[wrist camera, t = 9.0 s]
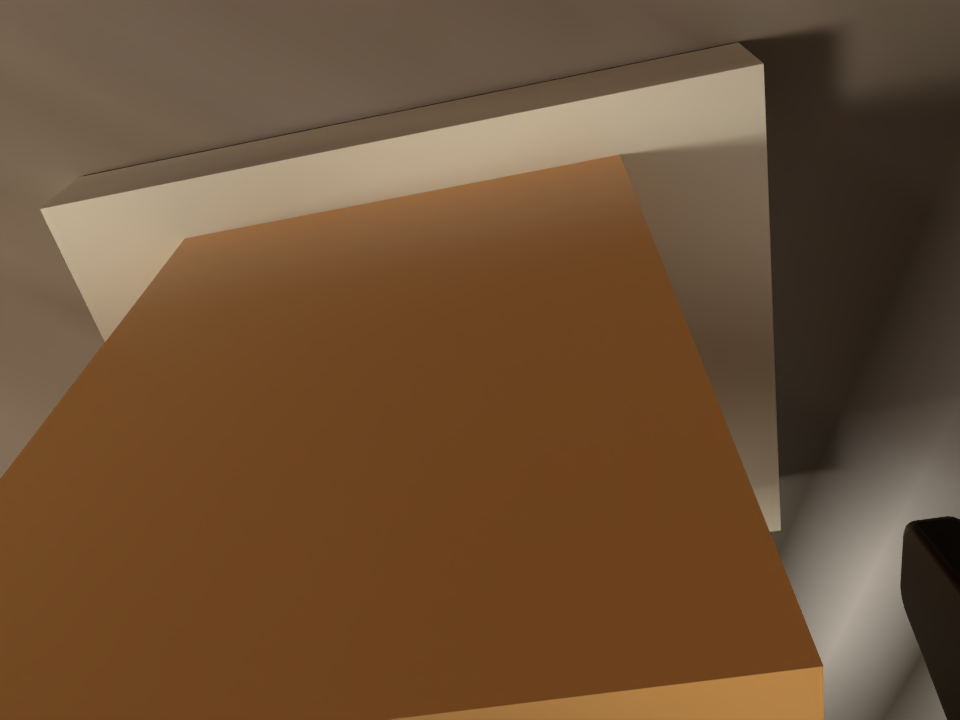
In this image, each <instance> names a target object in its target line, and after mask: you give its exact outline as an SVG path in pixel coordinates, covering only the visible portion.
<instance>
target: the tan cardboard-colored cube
mask: <svg viewBox="0 0 960 720" xmlns="http://www.w3.org/2000/svg"><path fill="white" fill-rule="evenodd" d="M0 720H824V706H823V664H822V662H821V659H820V657H819V654H818V652H817V649H816V647H815V644H814V642H813V639H812V637H811V634H810V632H809V629H808V627H807V624H806V622H805V619H804V617H803V614H802V612H801V609H800V607H799V604H798V602H797V599H796V596H795V594H794V591H793V589H792V586H791V584H790V581H789V579H788V576H787V574H786V571H785V569H784V566H783V564H782V561H781V559H780V556H779V554H778V551H777V549H776V546H775V544H774V541H773V539H772V536H771V534H770V531H769V529H768V526H767V524H766V521H765V519H764V516H763V514H762V511H761V509H760V506H759V504H758V501H757V499H756V496H755V493H754V491H753V488H752V486H751V483H750V481H749V478H748V476H747V473H746V471H745V468H744V466H743V463H742V461H741V458H740V456H739V453H738V451H737V448H736V446H735V443H734V441H733V438H732V436H731V433H730V431H729V428H728V426H727V423H726V421H725V418H724V416H723V413H722V411H721V408H720V406H719V403H718V401H717V398H716V395H715V393H714V390H713V388H712V385H711V383H710V380H709V378H708V375H707V373H706V370H705V368H704V365H703V363H702V360H701V358H700V355H699V353H698V350H697V348H696V345H695V343H694V340H693V338H692V335H691V333H690V330H689V328H688V325H687V323H686V320H685V318H684V315H683V313H682V310H681V308H680V305H679V303H678V300H677V298H676V295H675V292H674V290H673V287H672V285H671V282H670V280H669V277H668V275H667V272H666V270H665V267H664V265H663V262H662V260H661V257H660V255H659V252H658V250H657V247H656V245H655V242H654V240H653V237H652V235H651V232H650V230H649V227H648V225H647V222H646V220H645V217H644V215H643V212H642V210H641V207H640V205H639V202H638V200H637V197H636V195H635V192H634V189H633V187H632V184H631V182H630V179H629V177H628V174H627V172H626V169H625V167H624V164H623V162H622V159H621V157H620V154H619V155H614V156H609V157H604V158H599V159H594V160H588V161H583V162H578V163H573V164H568V165H563V166H557V167H552V168H547V169H542V170H537V171H531V172H526V173H521V174H516V175H511V176H506V177H500V178H495V179H490V180H485V181H480V182H475V183H469V184H464V185H459V186H454V187H449V188H443V189H438V190H433V191H428V192H423V193H418V194H412V195H407V196H402V197H397V198H392V199H387V200H381V201H376V202H371V203H366V204H361V205H355V206H350V207H345V208H340V209H335V210H330V211H324V212H319V213H314V214H309V215H304V216H299V217H293V218H288V219H283V220H278V221H273V222H267V223H262V224H257V225H252V226H247V227H242V228H236V229H231V230H226V231H221V232H216V233H211V234H205V235H200V236H195V237H190V238H185V239H184V240H183V241H182V243H181V244H180V245H179V247H178V248H177V249H176V251H175V252H174V253H173V254H172V256H171V257H170V258H169V260H168V261H167V262H166V264H165V265H164V266H163V268H162V269H161V270H160V271H159V273H158V274H157V275H156V277H155V278H154V279H153V281H152V282H151V283H150V284H149V286H148V287H147V288H146V290H145V291H144V292H143V294H142V295H141V296H140V298H139V299H138V300H137V301H136V303H135V304H134V305H133V307H132V308H131V309H130V311H129V312H128V313H127V314H126V316H125V317H124V318H123V320H122V321H121V322H120V324H119V325H118V326H117V328H116V329H115V330H114V331H113V333H112V334H111V335H110V337H109V338H108V339H107V341H106V342H105V343H104V345H103V346H102V347H101V348H100V350H99V351H98V352H97V354H96V355H95V356H94V358H93V359H92V360H91V361H90V363H89V364H88V365H87V367H86V368H85V369H84V371H83V372H82V373H81V375H80V376H79V377H78V378H77V380H76V381H75V382H74V384H73V385H72V386H71V388H70V389H69V390H68V392H67V393H66V394H65V395H64V397H63V398H62V399H61V401H60V402H59V403H58V405H57V406H56V407H55V408H54V410H53V411H52V412H51V414H50V415H49V416H48V418H47V419H46V420H45V422H44V423H43V424H42V425H41V427H40V428H39V429H38V431H37V432H36V433H35V435H34V436H33V437H32V439H31V440H30V441H29V442H28V444H27V445H26V446H25V448H24V449H23V450H22V452H21V453H20V454H19V455H18V457H17V458H16V459H15V461H14V462H13V463H12V465H11V466H10V467H9V469H8V470H7V471H6V472H5V474H4V475H3V476H2V478H1V479H0Z"/></svg>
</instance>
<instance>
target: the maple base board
mask: <svg viewBox="0 0 960 720" xmlns="http://www.w3.org/2000/svg"><path fill="white" fill-rule="evenodd" d="M619 154H620V157H621V159H622V162H623V164H624V167H625V169H626V172H627V174H628V177H629V179H630V182H631V184H632V187H633V189H634V192H635V195H636V197H637V200H638V202H639V205H640V207H641V210H642V212H643V215H644V217H645V220H646V222H647V225H648V227H649V230H650V232H651V235H652V237H653V240H654V242H655V245H656V247H657V250H658V252H659V255H660V257H661V260H662V262H663V265H664V267H665V270H666V272H667V275H668V277H669V280H670V282H671V285H672V287H673V290H674V292H675V295H676V298H677V300H678V303H679V305H680V308H681V310H682V313H683V315H684V318H685V320H686V323H687V325H688V328H689V330H690V333H691V335H692V338H693V340H694V343H695V345H696V348H697V350H698V353H699V355H700V358H701V360H702V363H703V365H704V368H705V370H706V373H707V375H708V378H709V380H710V383H711V385H712V388H713V390H714V393H715V395H716V398H717V401H718V403H719V406H720V408H721V411H722V413H723V416H724V418H725V421H726V423H727V426H728V428H729V431H730V433H731V436H732V438H733V441H734V443H735V446H736V448H737V451H738V453H739V456H740V458H741V461H742V463H743V466H744V468H745V471H746V473H747V476H748V478H749V481H750V483H751V486H752V488H753V491H754V493H755V496H756V499H757V501H758V504H759V506H760V509H761V511H762V514H763V516H764V519H765V521H766V524H767V526H768V529H769V531H770V532H772V531H779V530H781V521H780V494H779V467H778V440H777V412H776V385H775V358H774V331H773V303H772V276H771V249H770V221H769V194H768V167H767V140H766V112H765V85H764V63H762V62H761V61H760V60H759V59H758V58H756V57H755V56H754V55H753V54H752V53H750V52H749V51H748V50H747V49H746V48H744V47H743V46H742V45H741V44H740V43H739V42H738V43H733V44H728V45H724V46H719V47H714V48H709V49H704V50H699V51H694V52H689V53H684V54H679V55H675V56H670V57H665V58H660V59H655V60H650V61H645V62H640V63H635V64H631V65H626V66H621V67H616V68H611V69H606V70H601V71H596V72H591V73H586V74H582V75H577V76H572V77H567V78H562V79H557V80H552V81H547V82H542V83H538V84H533V85H528V86H523V87H518V88H513V89H508V90H503V91H498V92H494V93H489V94H484V95H479V96H474V97H469V98H464V99H459V100H454V101H449V102H445V103H440V104H435V105H430V106H425V107H420V108H415V109H410V110H405V111H401V112H396V113H391V114H386V115H381V116H376V117H371V118H366V119H361V120H356V121H352V122H347V123H342V124H337V125H332V126H327V127H322V128H317V129H312V130H308V131H303V132H298V133H293V134H288V135H283V136H278V137H273V138H268V139H263V140H259V141H254V142H249V143H244V144H239V145H234V146H229V147H224V148H219V149H215V150H210V151H205V152H200V153H195V154H190V155H185V156H180V157H175V158H170V159H166V160H161V161H156V162H151V163H146V164H141V165H136V166H131V167H126V168H122V169H117V170H112V171H107V172H102V173H97V174H92V175H87V176H82V177H78V178H77V179H76V180H75V181H73V182H72V183H71V184H70V185H69V186H67V187H66V188H65V189H64V190H63V191H61V192H60V193H59V194H58V195H56V196H55V197H54V198H53V199H52V200H50V201H49V202H48V203H47V204H46V205H44V206H43V207H42V208H41V209H40V210H41V212H42V214H43V216H44V218H45V221H46V223H47V225H48V227H49V229H50V231H51V233H52V235H53V237H54V239H55V241H56V243H57V245H58V247H59V249H60V251H61V253H62V255H63V257H64V259H65V261H66V263H67V265H68V268H69V270H70V272H71V274H72V276H73V278H74V280H75V282H76V284H77V286H78V288H79V290H80V292H81V294H82V296H83V298H84V300H85V302H86V304H87V306H88V308H89V310H90V312H91V315H92V317H93V319H94V321H95V323H96V325H97V327H98V329H99V331H100V333H101V335H102V337H103V339H104V341H105V342H106V341H107V339H108V338H109V337H110V335H111V334H112V333H113V331H114V330H115V329H116V328H117V326H118V325H119V324H120V322H121V321H122V320H123V318H124V317H125V316H126V314H127V313H128V312H129V311H130V309H131V308H132V307H133V305H134V304H135V303H136V301H137V300H138V299H139V298H140V296H141V295H142V294H143V292H144V291H145V290H146V288H147V287H148V286H149V284H150V283H151V282H152V281H153V279H154V278H155V277H156V275H157V274H158V273H159V271H160V270H161V269H162V268H163V266H164V265H165V264H166V262H167V261H168V260H169V258H170V257H171V256H172V254H173V253H174V252H175V251H176V249H177V248H178V247H179V245H180V244H181V243H182V241H183V240H184V239H185V238H190V237H195V236H200V235H205V234H211V233H216V232H221V231H226V230H231V229H236V228H242V227H247V226H252V225H257V224H262V223H267V222H273V221H278V220H283V219H288V218H293V217H299V216H304V215H309V214H314V213H319V212H324V211H330V210H335V209H340V208H345V207H350V206H355V205H361V204H366V203H371V202H376V201H381V200H387V199H392V198H397V197H402V196H407V195H412V194H418V193H423V192H428V191H433V190H438V189H443V188H449V187H454V186H459V185H464V184H469V183H475V182H480V181H485V180H490V179H495V178H500V177H506V176H511V175H516V174H521V173H526V172H531V171H537V170H542V169H547V168H552V167H557V166H563V165H568V164H573V163H578V162H583V161H588V160H594V159H599V158H604V157H609V156H614V155H619Z"/></svg>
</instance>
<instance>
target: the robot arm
mask: <svg viewBox="0 0 960 720" xmlns="http://www.w3.org/2000/svg"><path fill="white" fill-rule="evenodd" d="M901 595H902V600H903V604H904V608H905V611H906V614H907V616H908V619H909V622H910V624H911V627H912V629H913V632H914V635H915V637H916V640H917V642H918V645H919V648H920V650H921V653H922V655H923V658H924V661H925V663H926V666H927V668H928V671H929V674H930V676H931V679H932V681H933V684H934V687H935V689H936V692H937V694H938V697H939V700H940V702H941V705H942V707H943V710H944V713H945V715H946V718H947V720H960V519H958V518H955V517H950V516H946V517H939V518H931V519H924V520H917V521H913V522H910V523H909V524H908V525H907V526H906V528H905V531H904V535H903V551H902V568H901Z"/></svg>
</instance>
